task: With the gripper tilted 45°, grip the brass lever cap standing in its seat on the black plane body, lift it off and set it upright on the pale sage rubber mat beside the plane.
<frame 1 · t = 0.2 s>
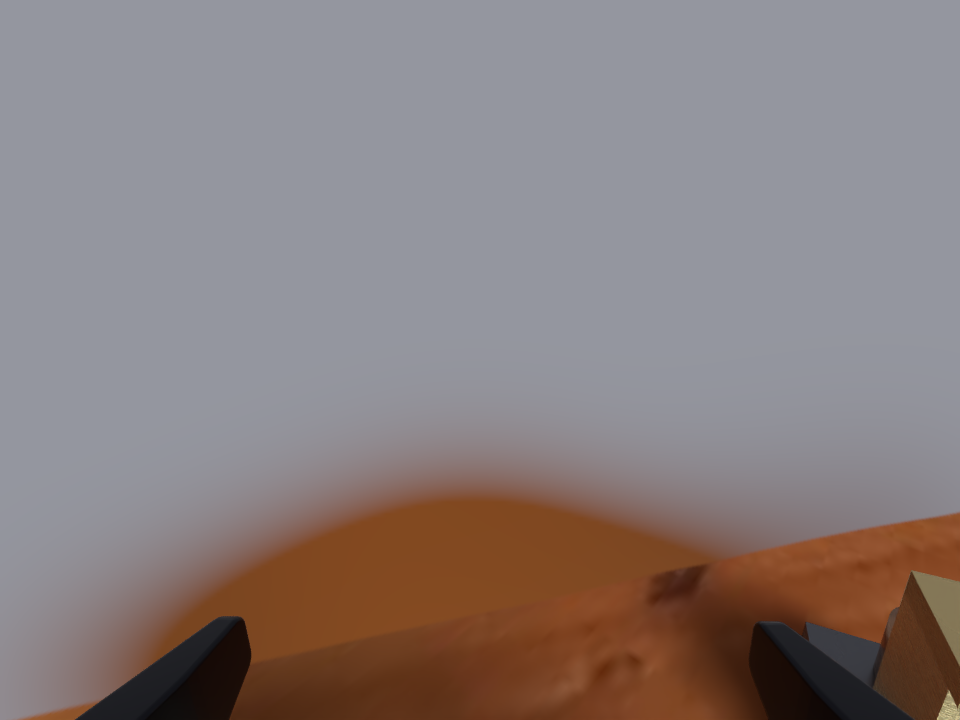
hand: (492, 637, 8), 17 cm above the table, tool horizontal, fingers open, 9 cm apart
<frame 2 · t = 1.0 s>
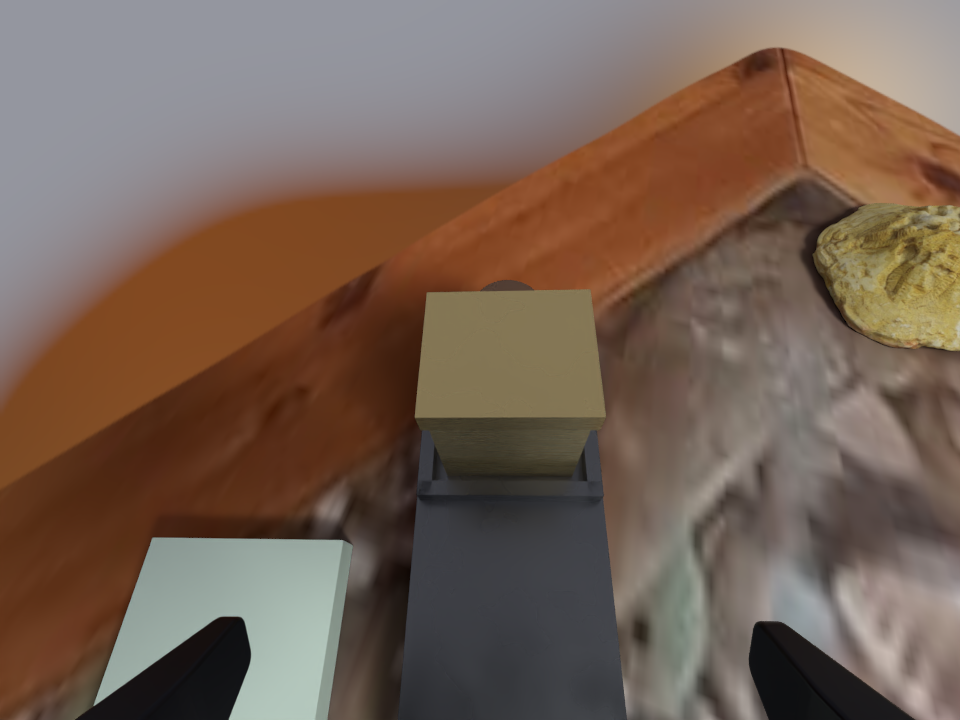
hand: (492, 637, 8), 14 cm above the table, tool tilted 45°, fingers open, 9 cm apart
lever cap: (508, 433, 22), point 3 cm above the table, touching plane body
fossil: (893, 280, 29), on the table
sage mat: (235, 653, 20), on the table
plane body: (509, 535, 22), on the table
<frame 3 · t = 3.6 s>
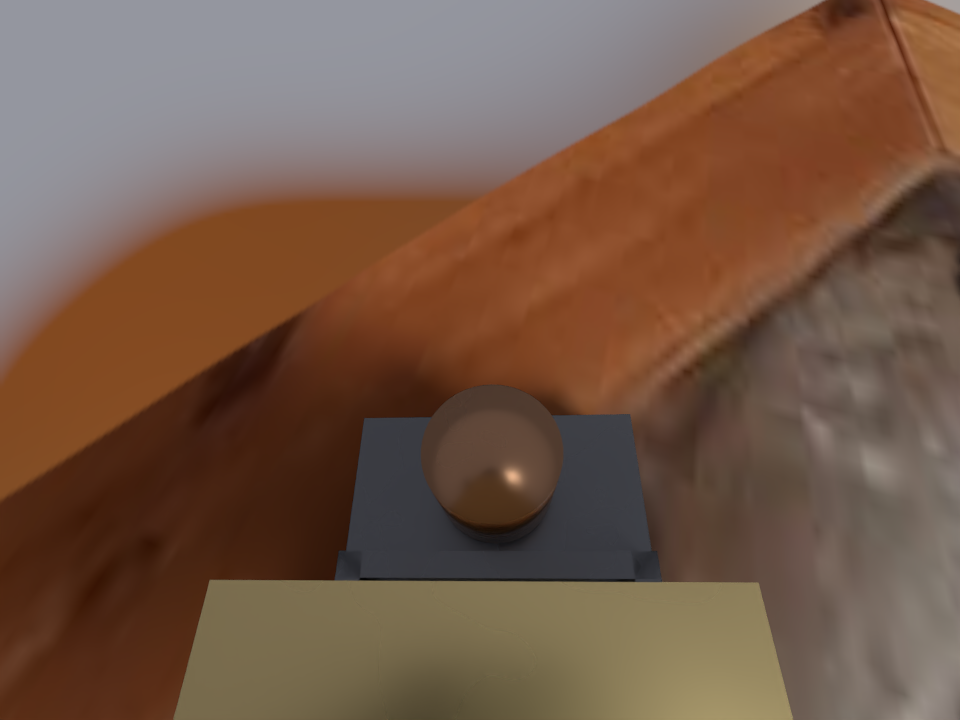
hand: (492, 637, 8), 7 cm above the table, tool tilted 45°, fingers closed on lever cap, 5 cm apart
lever cap: (498, 702, 11), point 3 cm above the table, touching gripper, plane body
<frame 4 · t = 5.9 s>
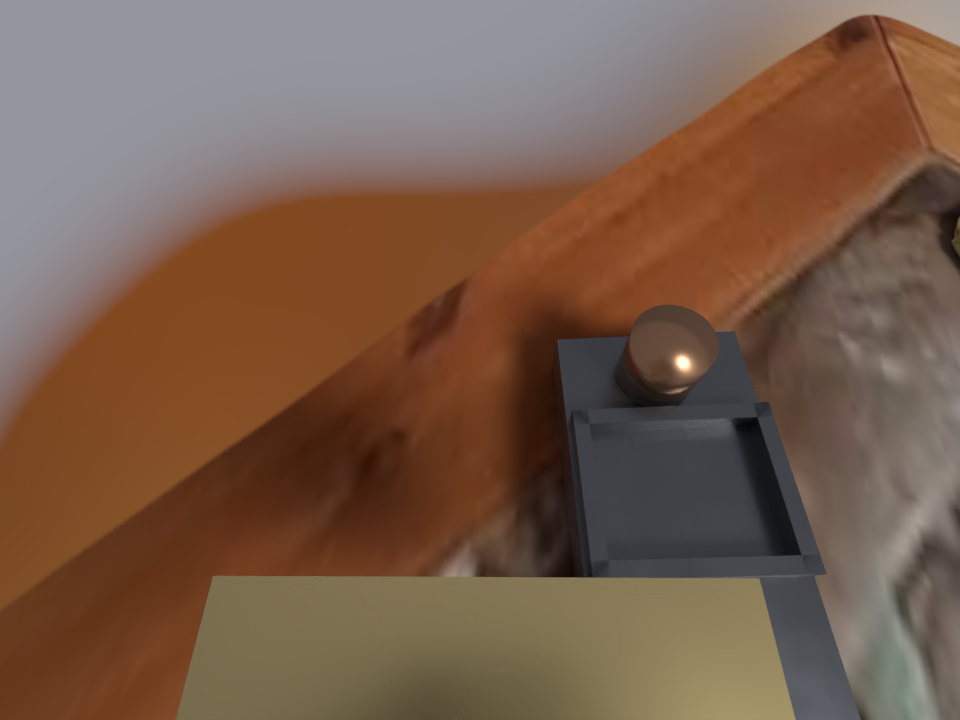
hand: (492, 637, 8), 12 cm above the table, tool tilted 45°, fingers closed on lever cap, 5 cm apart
lever cap: (498, 701, 11), point 9 cm above the table, touching gripper
plane body: (677, 608, 19), on the table
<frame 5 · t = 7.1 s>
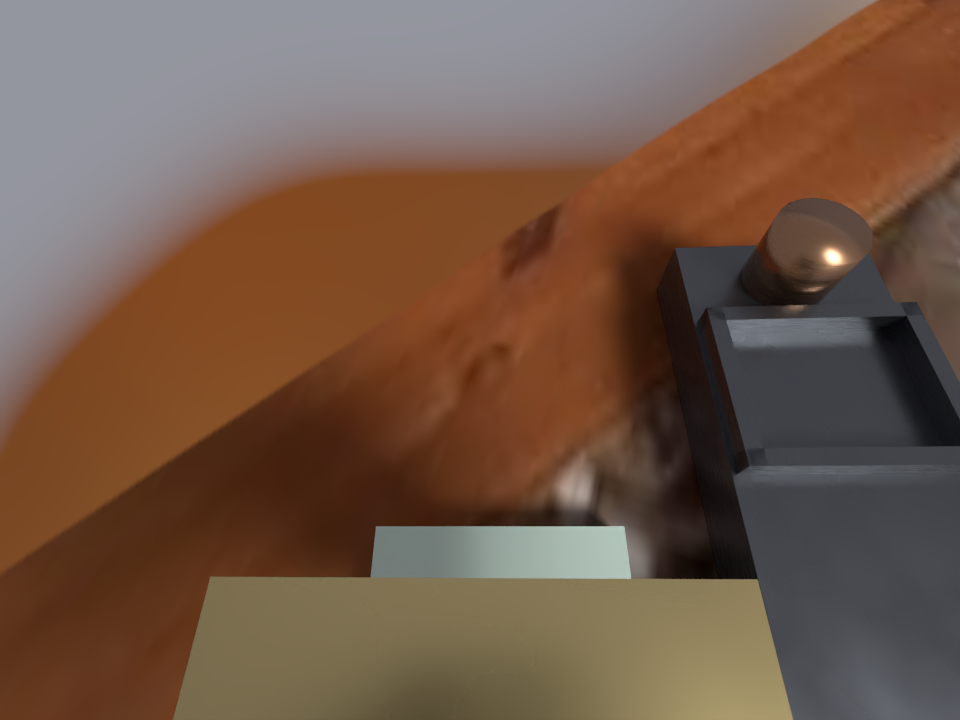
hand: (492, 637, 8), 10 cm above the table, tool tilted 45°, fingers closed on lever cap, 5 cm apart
lever cap: (497, 701, 11), point 6 cm above the table, touching gripper
sage mat: (500, 670, 16), on the table
plane body: (812, 518, 18), on the table
when the fingers open (6 cm above the table, at t = 8.2 s): lever cap drops 1 cm, resting on sage mat.
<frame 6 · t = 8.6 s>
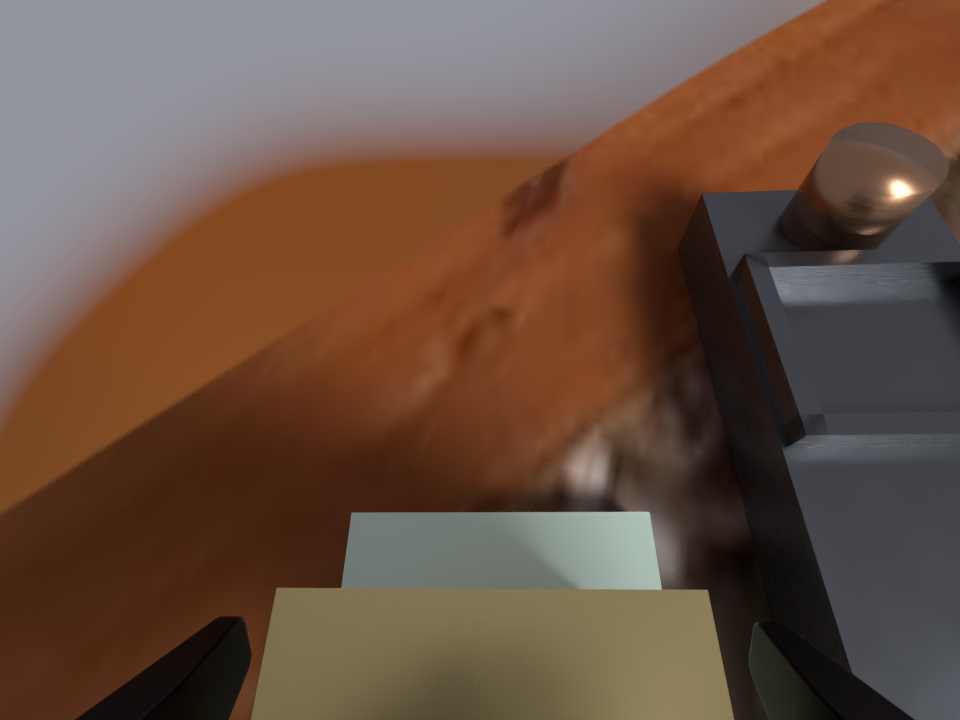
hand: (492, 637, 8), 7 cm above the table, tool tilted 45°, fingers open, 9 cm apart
lever cap: (501, 693, 12), point 1 cm above the table, touching sage mat
sage mat: (500, 686, 13), on the table
plane body: (871, 503, 15), on the table
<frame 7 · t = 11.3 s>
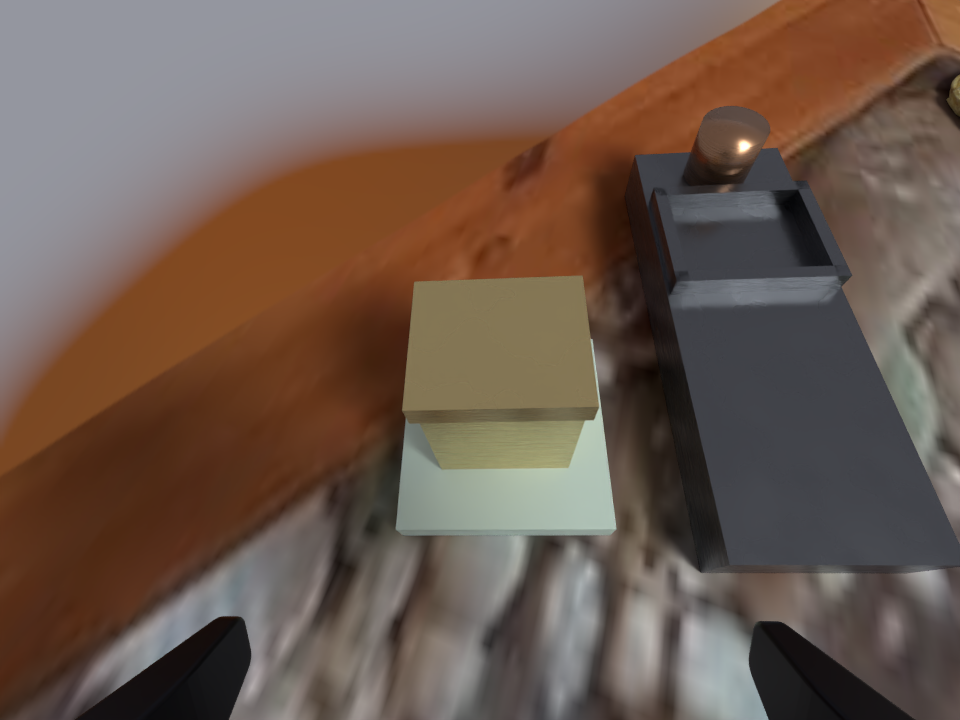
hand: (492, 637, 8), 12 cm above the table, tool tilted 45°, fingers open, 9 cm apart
lever cap: (503, 425, 21), point 1 cm above the table, touching sage mat
sage mat: (503, 437, 23), on the table
plane body: (732, 341, 24), on the table
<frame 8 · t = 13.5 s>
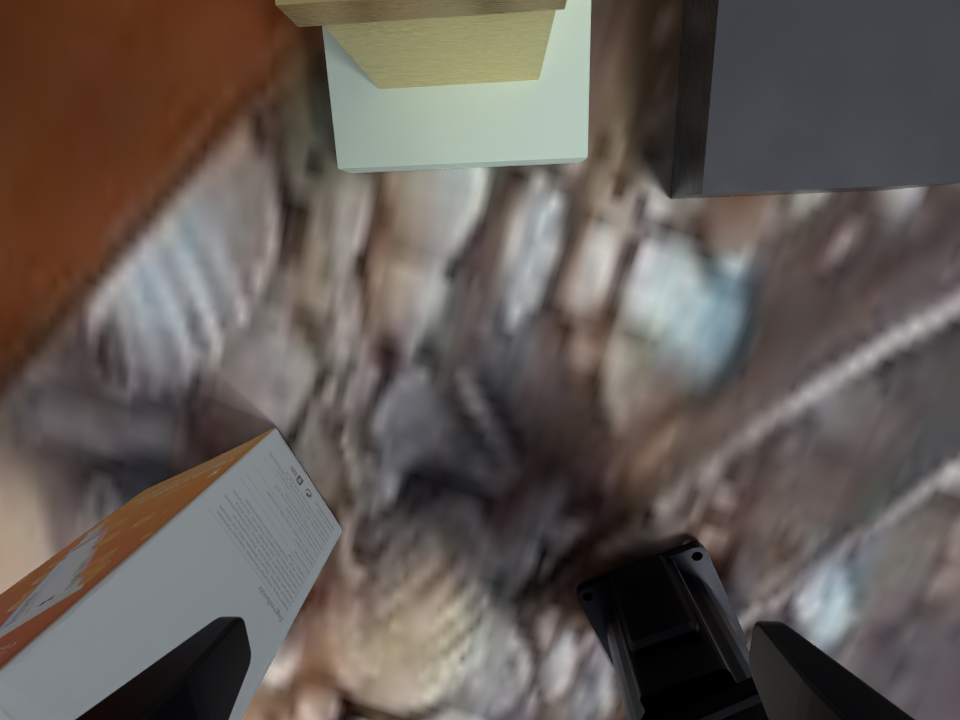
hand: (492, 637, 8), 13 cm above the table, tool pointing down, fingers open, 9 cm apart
small box: (246, 505, 23), on the table
lever cap: (455, 17, 16), point 1 cm above the table, touching sage mat
sage mat: (458, 35, 17), on the table
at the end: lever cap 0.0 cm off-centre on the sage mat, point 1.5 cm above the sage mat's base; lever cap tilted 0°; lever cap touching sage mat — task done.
